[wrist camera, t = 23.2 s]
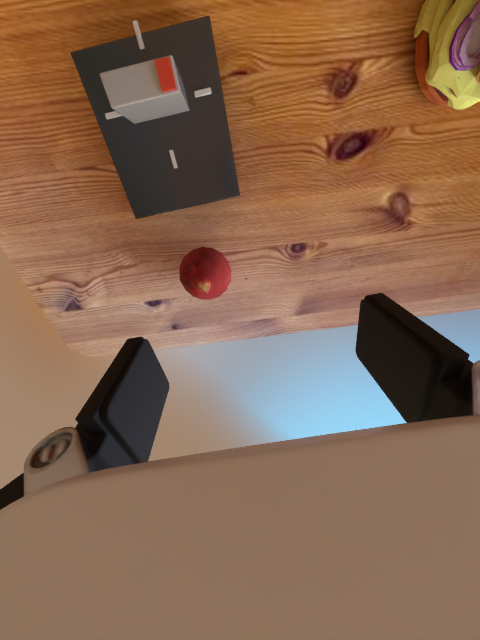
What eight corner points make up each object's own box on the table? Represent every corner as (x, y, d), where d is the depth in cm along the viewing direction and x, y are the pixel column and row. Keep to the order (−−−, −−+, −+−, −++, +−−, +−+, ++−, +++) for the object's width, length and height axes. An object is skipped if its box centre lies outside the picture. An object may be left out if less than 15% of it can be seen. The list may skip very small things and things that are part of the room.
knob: (134, 124, 20) (109, 107, 16) (124, 96, 19) (96, 70, 15) (189, 110, 19) (180, 90, 15) (183, 82, 18) (171, 52, 14)
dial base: (86, 60, 20) (64, 39, 17) (209, 27, 19) (207, 0, 16) (144, 215, 26) (135, 219, 23) (238, 195, 25) (240, 195, 23)
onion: (185, 284, 30) (174, 312, 24) (183, 239, 28) (169, 257, 21) (229, 286, 31) (230, 315, 24) (231, 243, 28) (233, 260, 21)
